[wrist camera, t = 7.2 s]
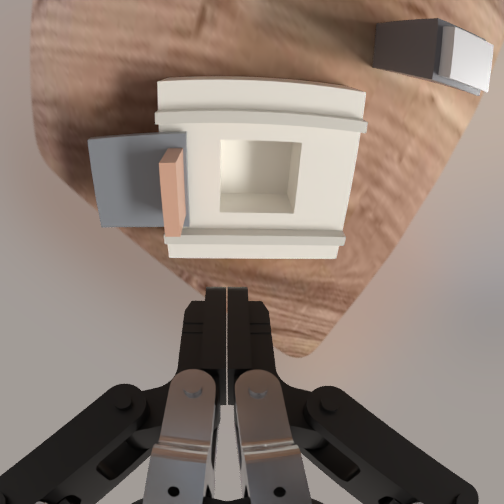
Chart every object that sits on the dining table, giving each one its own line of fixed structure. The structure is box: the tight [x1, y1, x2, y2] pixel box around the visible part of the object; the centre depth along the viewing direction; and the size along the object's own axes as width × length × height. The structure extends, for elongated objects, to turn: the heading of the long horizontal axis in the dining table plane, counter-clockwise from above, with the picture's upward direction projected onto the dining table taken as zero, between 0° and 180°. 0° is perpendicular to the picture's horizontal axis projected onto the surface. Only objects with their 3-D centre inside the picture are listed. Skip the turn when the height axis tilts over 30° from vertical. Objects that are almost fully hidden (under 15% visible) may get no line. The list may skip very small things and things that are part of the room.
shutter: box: [88, 131, 190, 237], centre depth 20 cm, size 7×7×4 cm
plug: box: [373, 18, 493, 96], centre depth 16 cm, size 4×4×10 cm
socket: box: [155, 76, 368, 259], centre depth 24 cm, size 14×14×5 cm
